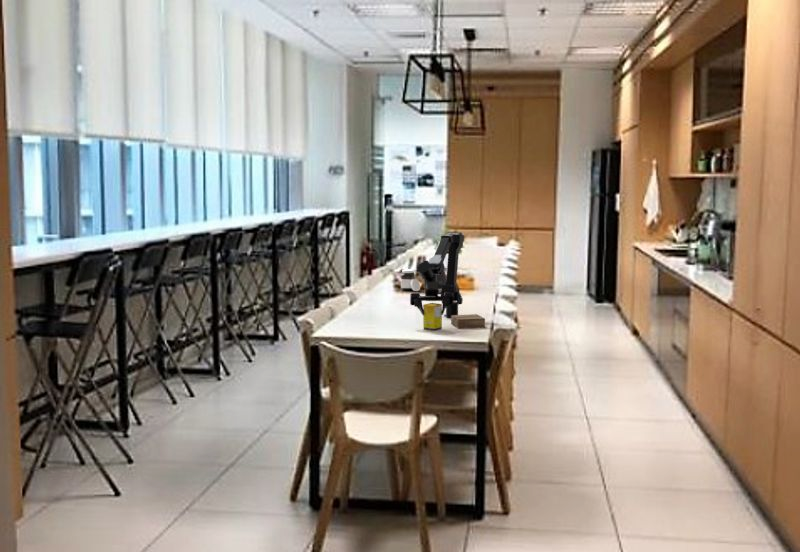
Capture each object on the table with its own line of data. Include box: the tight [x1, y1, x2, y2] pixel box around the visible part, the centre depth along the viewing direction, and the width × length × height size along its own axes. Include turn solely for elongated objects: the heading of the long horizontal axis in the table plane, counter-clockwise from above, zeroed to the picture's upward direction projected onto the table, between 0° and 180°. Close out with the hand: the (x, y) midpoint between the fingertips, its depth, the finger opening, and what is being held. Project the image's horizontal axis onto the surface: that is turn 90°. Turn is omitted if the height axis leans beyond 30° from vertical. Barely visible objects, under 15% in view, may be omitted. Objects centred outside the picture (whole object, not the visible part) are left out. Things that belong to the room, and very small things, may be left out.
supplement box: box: [422, 302, 443, 331], centre depth 398 cm, size 6×6×11 cm
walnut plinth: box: [450, 313, 486, 330], centre depth 406 cm, size 12×12×4 cm
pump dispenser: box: [436, 270, 447, 294], centre depth 514 cm, size 10×10×15 cm
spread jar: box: [400, 268, 421, 292], centre depth 523 cm, size 12×11×12 cm
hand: (432, 314), depth 396 cm, fingers closed on supplement box, 8 cm apart
